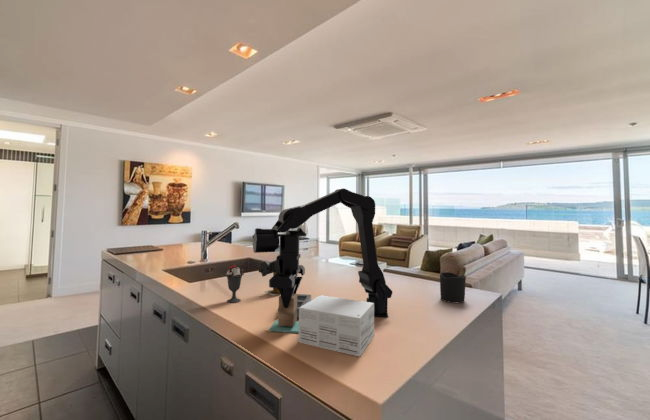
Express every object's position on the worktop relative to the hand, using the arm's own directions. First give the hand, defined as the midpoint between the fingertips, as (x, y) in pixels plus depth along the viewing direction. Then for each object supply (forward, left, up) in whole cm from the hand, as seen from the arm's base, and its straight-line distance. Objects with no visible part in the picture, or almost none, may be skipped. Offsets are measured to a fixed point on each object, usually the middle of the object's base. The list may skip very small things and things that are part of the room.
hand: (288, 304), depth 81 cm
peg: (0, 0, -5) cm, 5 cm away
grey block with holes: (+1, -15, -6) cm, 16 cm away
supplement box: (-15, +5, -7) cm, 17 cm away
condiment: (+13, -34, -7) cm, 37 cm away
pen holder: (-58, -37, -7) cm, 69 cm away
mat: (0, 0, -6) cm, 6 cm away
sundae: (+26, -20, -7) cm, 33 cm away
